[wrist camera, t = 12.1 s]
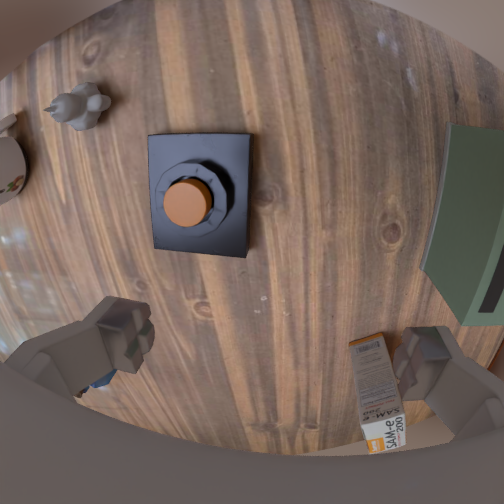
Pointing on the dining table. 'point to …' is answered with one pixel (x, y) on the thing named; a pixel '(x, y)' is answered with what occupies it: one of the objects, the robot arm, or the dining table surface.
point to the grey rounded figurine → (79, 106)
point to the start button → (187, 202)
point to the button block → (215, 179)
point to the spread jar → (11, 163)
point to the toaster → (469, 226)
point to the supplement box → (377, 395)
